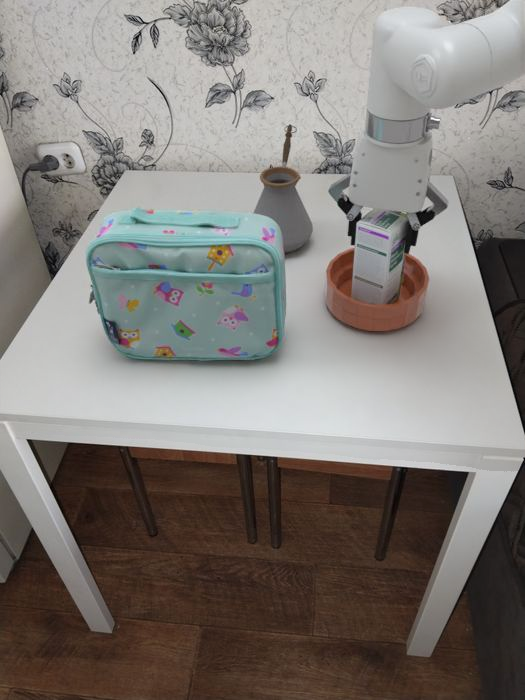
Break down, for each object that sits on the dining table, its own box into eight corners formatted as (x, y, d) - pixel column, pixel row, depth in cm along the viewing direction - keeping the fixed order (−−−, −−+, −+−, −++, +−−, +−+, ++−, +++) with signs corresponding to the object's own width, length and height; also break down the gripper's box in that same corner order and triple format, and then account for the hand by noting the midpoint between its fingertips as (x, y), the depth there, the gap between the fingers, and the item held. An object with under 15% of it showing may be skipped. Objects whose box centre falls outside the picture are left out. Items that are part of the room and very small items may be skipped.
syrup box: (382, 315, 89) (394, 233, 79) (348, 301, 92) (356, 220, 82) (400, 296, 92) (413, 215, 82) (367, 282, 95) (376, 202, 85)
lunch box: (99, 365, 85) (58, 240, 70) (116, 318, 92) (82, 195, 77) (285, 368, 83) (283, 240, 68) (287, 320, 90) (286, 195, 76)
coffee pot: (309, 262, 101) (311, 182, 90) (243, 258, 103) (237, 179, 92) (320, 198, 116) (322, 123, 106) (262, 195, 118) (259, 121, 107)
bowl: (428, 282, 96) (434, 254, 92) (415, 343, 86) (421, 315, 82) (337, 266, 100) (339, 239, 96) (314, 324, 90) (315, 296, 86)
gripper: (471, 117, 73) (445, 239, 85) (334, 104, 77) (328, 222, 90) (466, 144, 68) (439, 269, 80) (320, 128, 72) (316, 249, 85)
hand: (381, 243), depth 85 cm, fingers closed on syrup box, 7 cm apart
